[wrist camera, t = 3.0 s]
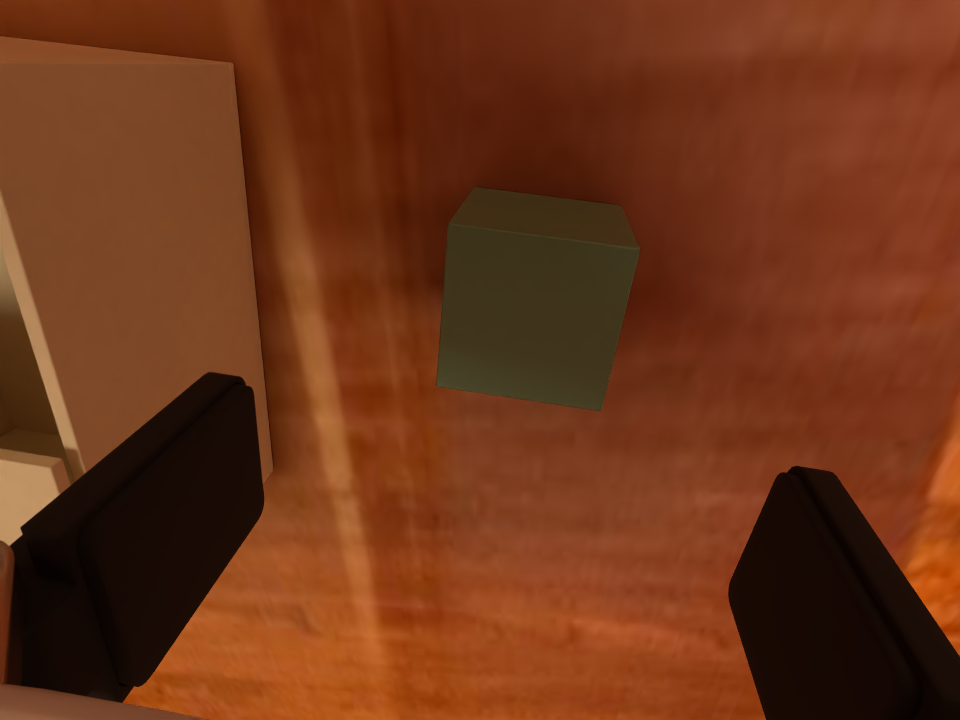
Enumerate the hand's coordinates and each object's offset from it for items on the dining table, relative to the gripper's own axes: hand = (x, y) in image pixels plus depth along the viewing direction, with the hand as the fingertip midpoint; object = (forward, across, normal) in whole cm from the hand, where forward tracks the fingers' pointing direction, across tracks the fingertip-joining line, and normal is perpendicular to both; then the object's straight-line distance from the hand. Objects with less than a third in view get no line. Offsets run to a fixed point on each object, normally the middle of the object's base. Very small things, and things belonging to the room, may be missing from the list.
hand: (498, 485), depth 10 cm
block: (+11, 0, 0) cm, 11 cm away
